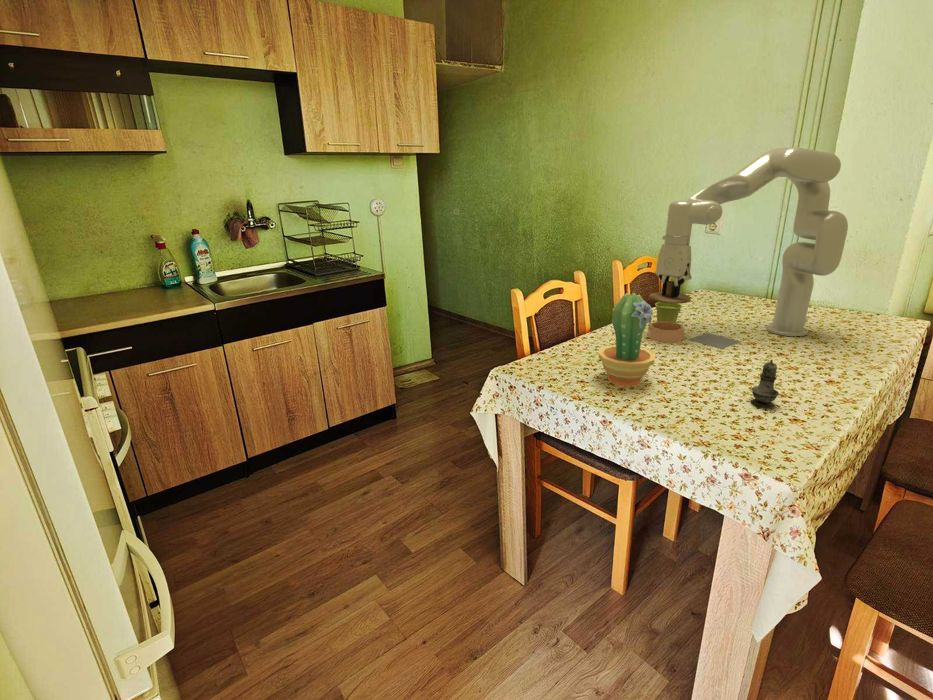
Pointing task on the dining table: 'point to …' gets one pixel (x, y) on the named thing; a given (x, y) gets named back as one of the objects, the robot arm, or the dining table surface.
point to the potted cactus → (628, 342)
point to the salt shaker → (766, 387)
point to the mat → (714, 340)
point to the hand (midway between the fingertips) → (670, 295)
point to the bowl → (666, 332)
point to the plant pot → (667, 311)
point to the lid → (669, 296)
